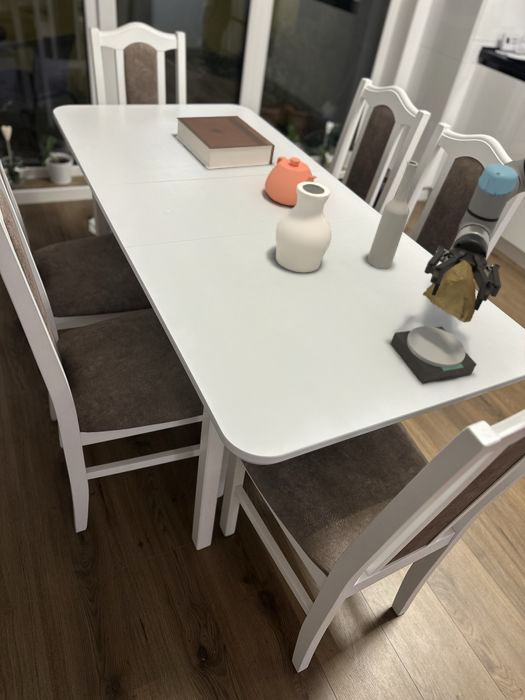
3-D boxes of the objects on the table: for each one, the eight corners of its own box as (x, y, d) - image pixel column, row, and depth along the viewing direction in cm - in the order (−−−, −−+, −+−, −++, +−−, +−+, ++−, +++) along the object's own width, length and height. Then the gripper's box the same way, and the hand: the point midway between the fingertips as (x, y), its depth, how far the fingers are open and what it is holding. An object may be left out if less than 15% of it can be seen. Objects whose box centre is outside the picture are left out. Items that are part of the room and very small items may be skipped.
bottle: (363, 255, 149) (394, 156, 131) (384, 255, 151) (418, 157, 133) (373, 269, 144) (407, 167, 126) (395, 268, 146) (431, 169, 128)
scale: (472, 375, 117) (479, 361, 114) (423, 384, 112) (429, 370, 109) (437, 336, 126) (443, 322, 123) (390, 342, 121) (395, 329, 118)
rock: (490, 318, 109) (476, 284, 115) (481, 290, 103) (467, 257, 109) (436, 335, 112) (426, 302, 119) (425, 310, 107) (415, 276, 113)
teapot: (328, 213, 166) (338, 174, 158) (284, 217, 159) (292, 177, 151) (293, 181, 180) (301, 144, 172) (252, 184, 173) (257, 146, 165)
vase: (333, 260, 145) (352, 190, 132) (308, 281, 135) (326, 208, 122) (288, 240, 149) (302, 170, 136) (260, 259, 140) (273, 186, 127)
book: (235, 133, 205) (237, 115, 201) (271, 164, 188) (274, 145, 184) (175, 136, 194) (176, 117, 190) (208, 168, 177) (210, 149, 173)
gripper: (508, 277, 123) (501, 330, 106) (420, 248, 127) (400, 294, 110) (523, 249, 118) (518, 299, 101) (431, 219, 122) (412, 263, 106)
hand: (457, 297), depth 106 cm, fingers closed on rock, 8 cm apart
